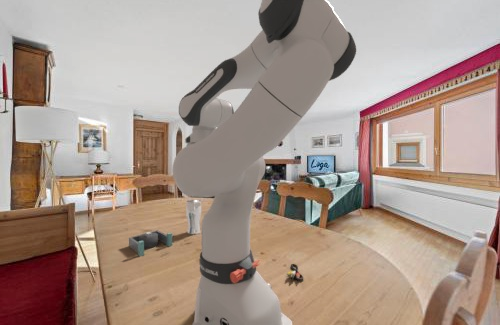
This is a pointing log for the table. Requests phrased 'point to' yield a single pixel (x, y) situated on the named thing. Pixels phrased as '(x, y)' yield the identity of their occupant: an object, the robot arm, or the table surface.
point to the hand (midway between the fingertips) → (204, 174)
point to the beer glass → (193, 216)
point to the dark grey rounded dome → (149, 240)
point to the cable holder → (139, 245)
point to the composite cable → (294, 273)
